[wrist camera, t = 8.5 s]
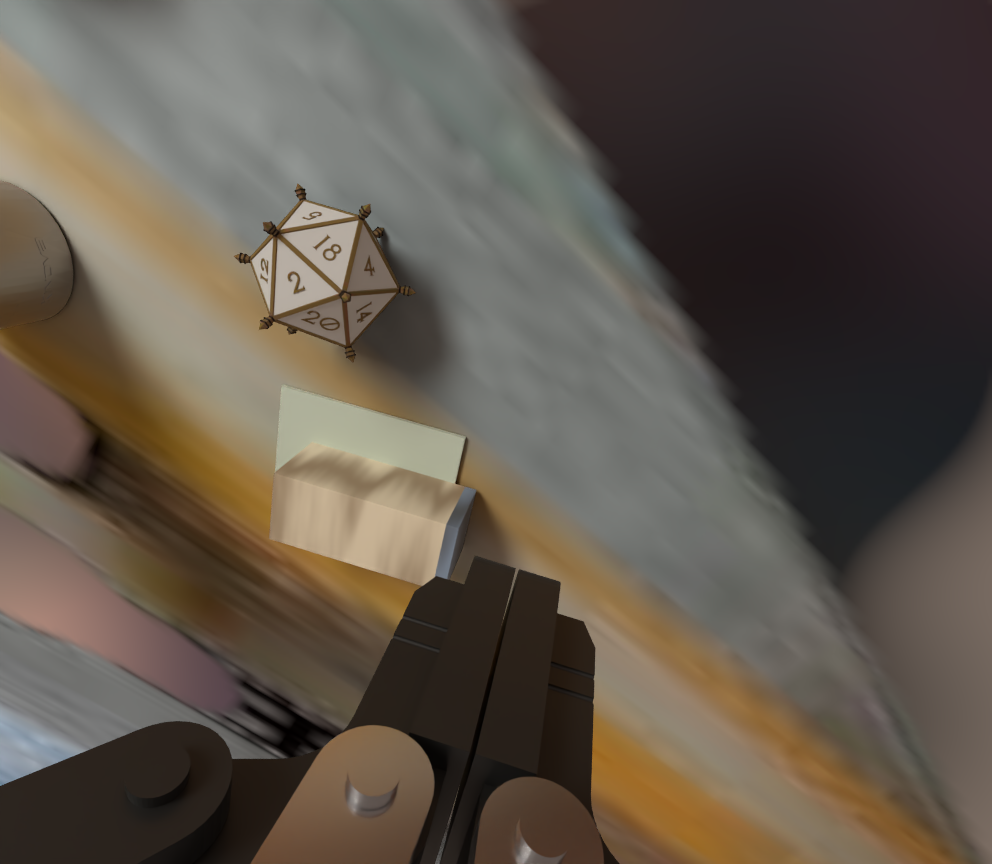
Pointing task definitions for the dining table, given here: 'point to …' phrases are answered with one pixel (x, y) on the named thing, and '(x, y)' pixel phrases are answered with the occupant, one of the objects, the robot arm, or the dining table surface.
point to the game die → (323, 273)
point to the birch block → (370, 514)
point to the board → (364, 435)
